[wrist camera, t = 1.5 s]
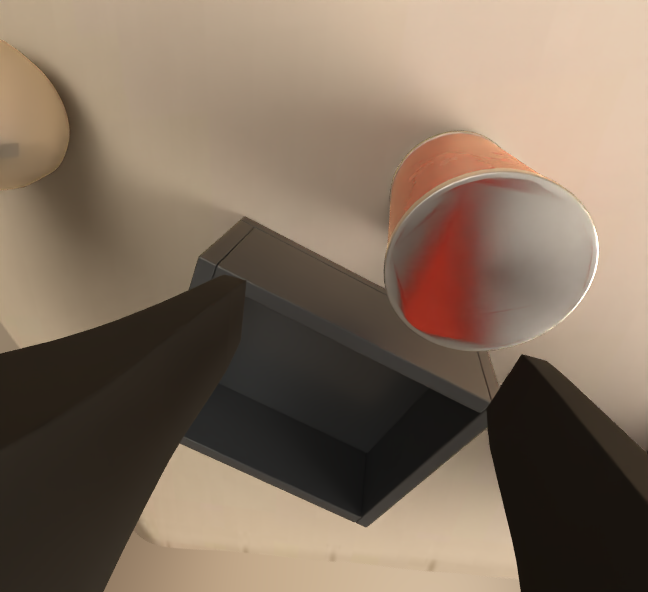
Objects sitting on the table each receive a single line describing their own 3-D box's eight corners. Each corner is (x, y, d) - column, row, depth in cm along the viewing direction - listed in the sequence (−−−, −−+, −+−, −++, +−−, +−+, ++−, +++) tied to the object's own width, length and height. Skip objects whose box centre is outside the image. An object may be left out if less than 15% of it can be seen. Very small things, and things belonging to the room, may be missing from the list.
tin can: (541, 168, 15) (654, 238, 9) (462, 266, 18) (500, 378, 11) (432, 106, 15) (460, 128, 8) (369, 216, 18) (350, 301, 11)
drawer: (484, 340, 20) (508, 411, 16) (371, 455, 27) (366, 528, 22) (244, 215, 19) (198, 256, 14) (188, 369, 25) (145, 428, 21)
